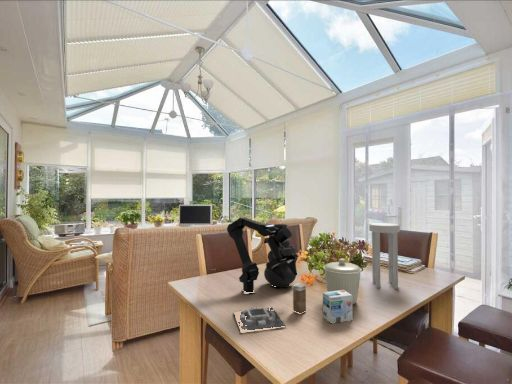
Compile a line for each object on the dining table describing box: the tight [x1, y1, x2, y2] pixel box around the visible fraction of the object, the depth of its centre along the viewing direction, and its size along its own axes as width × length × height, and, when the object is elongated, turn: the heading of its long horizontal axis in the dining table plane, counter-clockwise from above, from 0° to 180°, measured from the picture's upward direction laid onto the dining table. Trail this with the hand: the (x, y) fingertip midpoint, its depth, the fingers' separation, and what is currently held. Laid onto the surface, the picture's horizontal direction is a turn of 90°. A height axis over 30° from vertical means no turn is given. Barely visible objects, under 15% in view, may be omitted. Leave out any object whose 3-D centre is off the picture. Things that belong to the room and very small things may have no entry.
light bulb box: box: [322, 290, 353, 324], centre depth 115 cm, size 11×7×11 cm, turn 105°
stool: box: [368, 222, 401, 290], centre depth 157 cm, size 16×16×35 cm
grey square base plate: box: [238, 306, 286, 330], centre depth 114 cm, size 18×18×4 cm
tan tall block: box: [292, 282, 307, 313], centre depth 121 cm, size 4×4×12 cm
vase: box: [263, 223, 297, 288], centre depth 157 cm, size 18×18×35 cm
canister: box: [322, 258, 363, 306], centre depth 133 cm, size 18×18×21 cm
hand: (290, 277), depth 127 cm, fingers open, 9 cm apart
